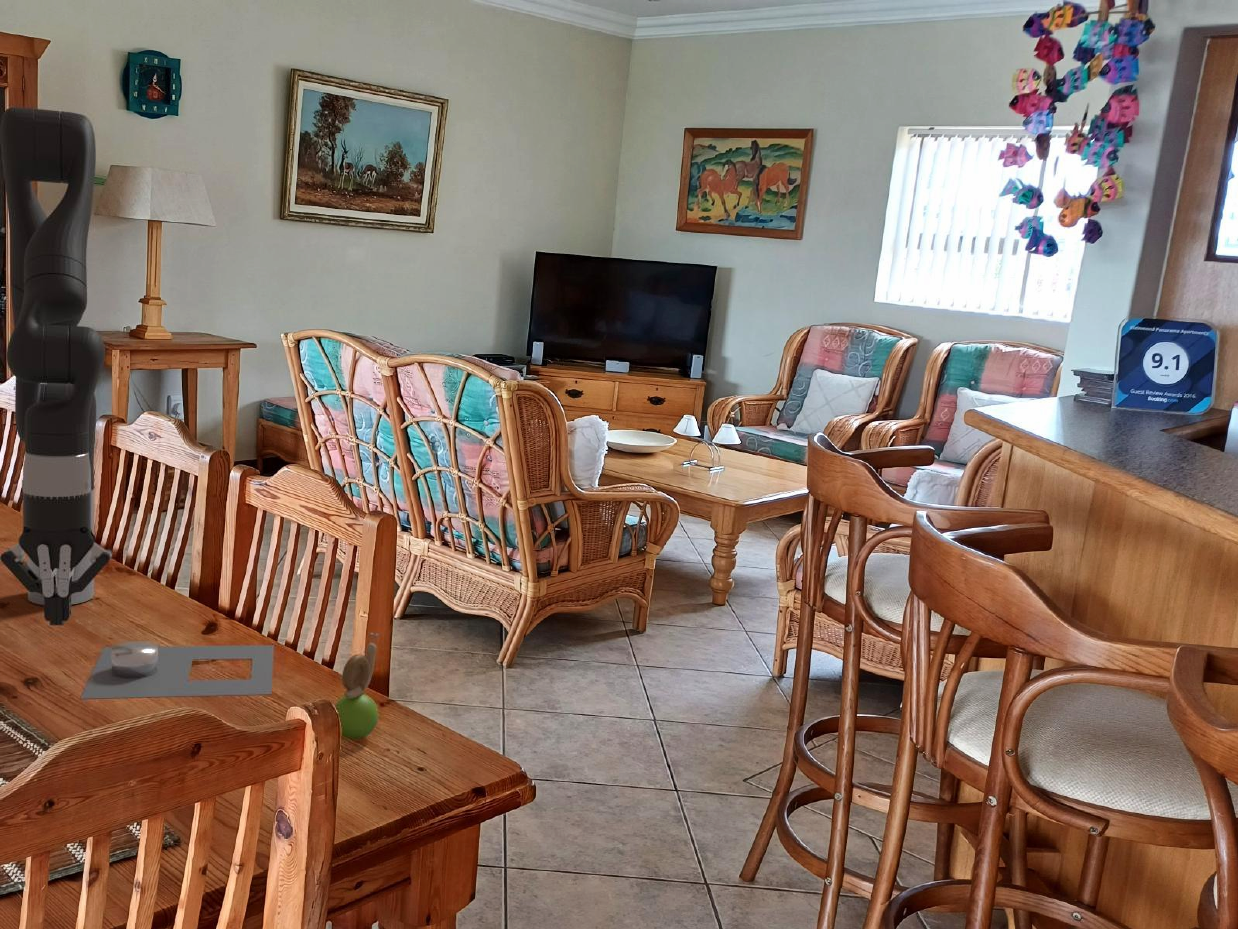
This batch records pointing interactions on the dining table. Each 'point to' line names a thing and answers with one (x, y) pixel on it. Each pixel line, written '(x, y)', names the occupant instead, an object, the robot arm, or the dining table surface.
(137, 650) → the silver rounded puck
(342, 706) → the green toy figure
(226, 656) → the charcoal board
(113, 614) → the dining table surface
